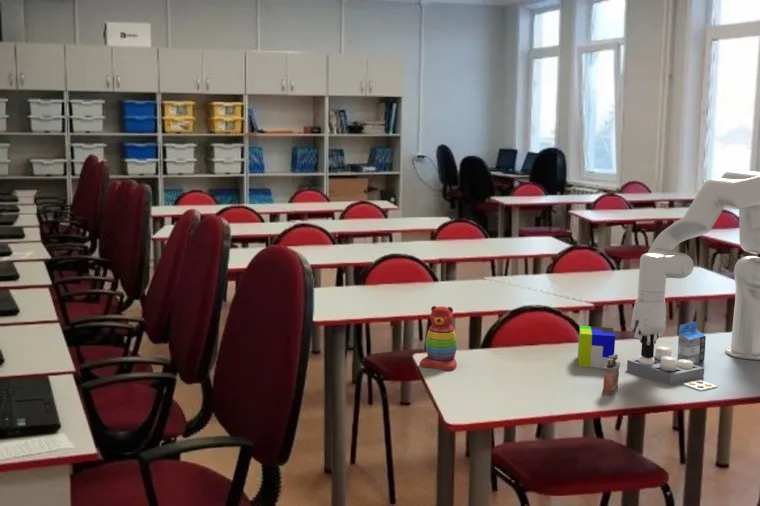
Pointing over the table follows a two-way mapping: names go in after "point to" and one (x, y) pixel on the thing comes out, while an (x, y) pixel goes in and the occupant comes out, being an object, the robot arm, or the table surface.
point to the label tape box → (691, 343)
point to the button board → (665, 372)
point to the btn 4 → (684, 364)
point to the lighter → (611, 376)
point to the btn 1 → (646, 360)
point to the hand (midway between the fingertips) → (647, 356)
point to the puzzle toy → (595, 345)
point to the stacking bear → (441, 340)
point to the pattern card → (700, 385)
